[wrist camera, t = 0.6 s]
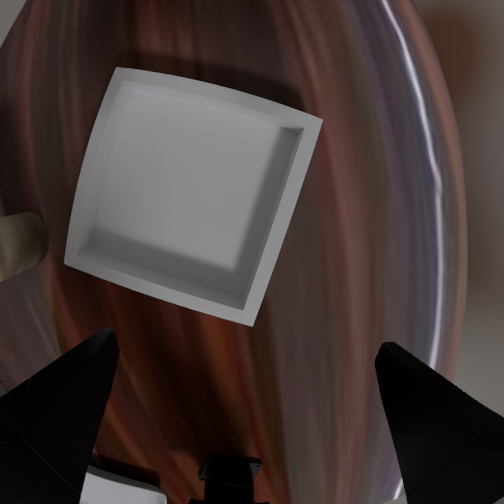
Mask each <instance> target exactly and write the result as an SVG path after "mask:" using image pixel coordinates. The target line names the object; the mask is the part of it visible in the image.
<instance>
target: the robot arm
mask: <svg viewBox="0 0 504 504" xmlns="http://www.w3.org/2000/svg"><path fill="white" fill-rule="evenodd" d="M119 352H120V350H119V345H118V341H117V337H116V333H115V331H114V330H112V329H106V328H103V329H101V330H99V331H98V332H96V333H95V334H93V335H92V336H90V337H89V338H87V339H86V340H84V341H83V342H81V343H80V344H78V345H77V346H75V347H74V348H73V349H71V350H70V351H68V352H67V353H65V354H64V355H62V356H61V357H59V358H58V359H56V360H55V361H53V362H52V363H50V364H49V365H48V366H46V367H45V368H43V369H42V370H40V371H39V372H37V373H36V374H34V375H33V376H32V377H30V379H27V380H26V381H24V382H23V383H21V384H20V385H18V386H17V387H15V388H14V389H12V390H11V391H9V392H7V393H6V394H4V395H2V396H1V397H0V504H80V499H81V494H82V490H83V485H84V481H85V477H86V473H87V469H88V466H89V462H90V458H91V454H92V451H93V447H94V444H95V440H96V437H97V434H98V430H99V427H100V424H101V421H102V417H103V414H104V411H105V408H106V405H107V402H108V399H109V396H110V393H111V389H112V384H113V380H114V375H115V371H116V366H117V362H118V358H119ZM375 369H376V374H377V379H378V384H379V389H380V395H381V400H382V403H383V407H384V410H385V414H386V417H387V421H388V424H389V428H390V432H391V435H392V439H393V443H394V447H395V450H396V454H397V458H398V462H399V467H400V471H401V475H402V479H403V484H404V488H405V493H406V497H407V498H406V499H407V503H408V504H504V417H502V416H501V415H499V414H497V413H496V412H494V411H492V410H491V409H489V408H487V407H486V406H484V405H483V404H481V403H479V402H478V401H476V400H475V399H474V398H472V397H471V396H469V395H468V394H467V393H465V392H463V391H462V390H461V389H459V388H458V387H457V386H455V385H454V384H453V383H451V382H450V381H448V380H447V379H446V378H444V377H443V376H441V375H440V374H439V373H437V372H436V371H434V370H433V369H432V368H430V367H429V366H427V365H426V364H425V363H423V362H422V361H420V360H419V359H418V358H416V357H415V356H413V355H412V354H411V353H409V352H408V351H406V350H405V349H404V348H402V347H401V346H399V345H398V344H396V343H395V342H384V343H383V344H382V345H381V347H380V350H379V352H378V354H377V356H376V359H375ZM261 467H262V462H259V461H252V460H245V459H238V458H232V457H227V456H221V455H216V454H209V455H208V458H207V460H206V462H205V464H204V467H203V469H202V471H201V473H200V476H199V480H200V481H204V482H205V491H204V501H202V500H195V499H190V503H188V504H269V502H264V503H255V499H254V484H253V479H254V477H255V476H256V475H257V473H258V472H259V470H260V469H261Z"/></svg>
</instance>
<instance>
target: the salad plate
mask: <svg viewBox="0 0 504 504" xmlns="http://www.w3.org/2000/svg"><path fill="white" fill-rule="evenodd" d="M80 504H167V498H166V495H165V493H164V492H163V491H162V490H161V489H159V488H158V487H156V486H153V485H151V484H148V483H145V482H141V481H137V480H133V479H129V478H126V477H123V476H119V475H116V474H113V473H110V472H107V471H104V470H101V469H98V468H95V467H93V466H90V465H89V466H88V469H87V473H86V477H85V481H84V485H83V490H82V494H81V499H80Z"/></svg>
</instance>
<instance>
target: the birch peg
mask: <svg viewBox="0 0 504 504" xmlns="http://www.w3.org/2000/svg"><path fill="white" fill-rule="evenodd" d="M48 243H49V241H48V233H47V229H46V226H45V224H44V222H43V221H42V219H41V218H40V217H39V216H38V215H37V214H35V213H33V212H24V213H19V214H14V215H9V216H5V217H0V282H1V281H3V280H5V279H7V278H9V277H11V276H13V275H15V274H17V273H19V272H21V271H23V270H25V269H28V268H30V267H32V266H34V265H36V264H38V263H40V262H41V261H42V260H43V259H44V258H45V256H46V254H47V250H48Z"/></svg>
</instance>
